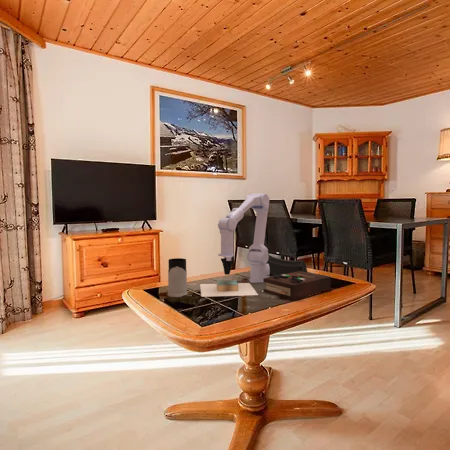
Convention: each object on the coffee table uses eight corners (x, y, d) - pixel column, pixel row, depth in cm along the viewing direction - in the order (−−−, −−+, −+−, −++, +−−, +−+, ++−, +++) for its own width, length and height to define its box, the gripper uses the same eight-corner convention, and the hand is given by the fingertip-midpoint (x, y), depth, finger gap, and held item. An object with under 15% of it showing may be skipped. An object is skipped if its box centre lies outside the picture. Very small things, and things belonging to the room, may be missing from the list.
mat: (249, 283, 161) (249, 283, 161) (258, 295, 139) (258, 295, 139) (200, 285, 159) (200, 284, 159) (201, 297, 137) (201, 296, 137)
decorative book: (336, 274, 148) (292, 284, 129) (335, 291, 148) (291, 303, 130) (301, 268, 163) (257, 276, 144) (301, 283, 164) (257, 293, 145)
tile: (235, 280, 154) (238, 284, 146) (235, 286, 154) (238, 290, 146) (216, 280, 153) (218, 284, 145) (216, 287, 153) (218, 291, 145)
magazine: (313, 263, 167) (269, 241, 187) (309, 264, 164) (265, 242, 185) (304, 293, 171) (262, 269, 192) (300, 295, 169) (258, 270, 190)
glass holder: (166, 297, 137) (166, 261, 137) (169, 288, 152) (168, 256, 151) (187, 296, 138) (187, 261, 137) (188, 288, 152) (188, 256, 152)
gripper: (217, 242, 156) (217, 271, 156) (219, 246, 141) (219, 277, 142) (231, 242, 156) (231, 271, 157) (235, 246, 142) (235, 277, 143)
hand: (227, 274), depth 150 cm, fingers closed
